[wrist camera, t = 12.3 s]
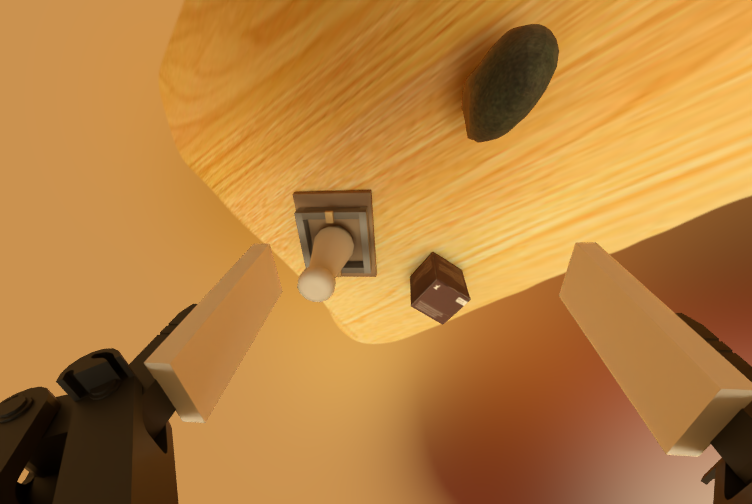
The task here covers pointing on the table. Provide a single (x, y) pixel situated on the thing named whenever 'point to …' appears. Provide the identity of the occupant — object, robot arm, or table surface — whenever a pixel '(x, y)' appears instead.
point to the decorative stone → (509, 81)
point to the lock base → (339, 211)
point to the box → (438, 289)
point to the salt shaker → (325, 263)
